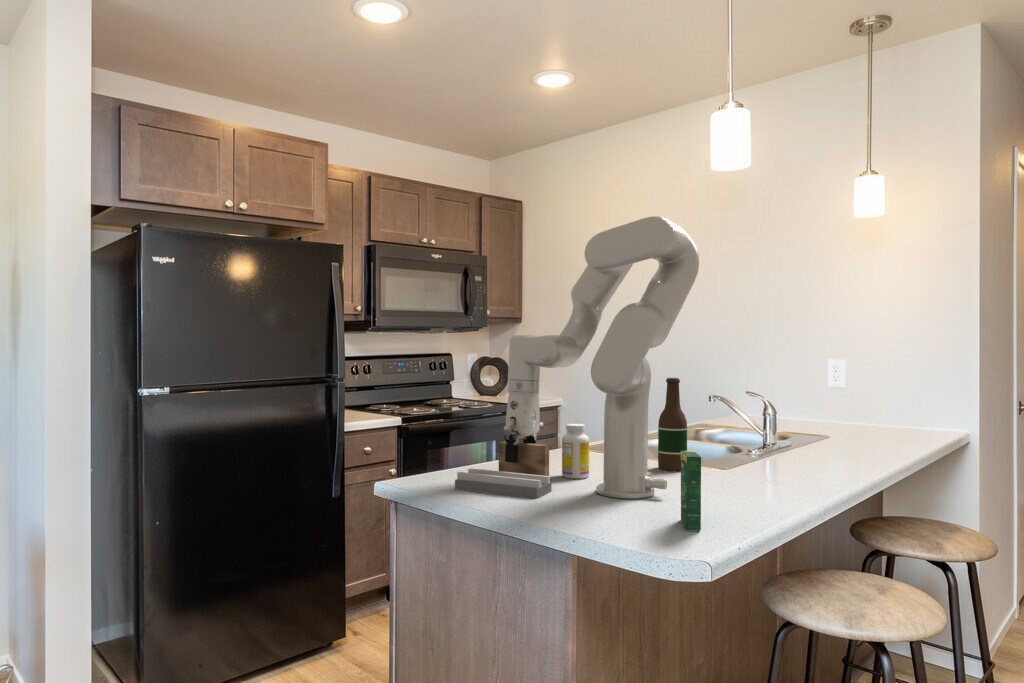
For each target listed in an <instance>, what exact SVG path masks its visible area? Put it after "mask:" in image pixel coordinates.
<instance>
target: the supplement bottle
mask: <svg viewBox="0 0 1024 683" xmlns="http://www.w3.org/2000/svg"><path fill="white" fill-rule="evenodd" d="M565 430H566V433H565V434H564V435H563V436H562V438H561V475H562V477H563V478H565V479H573V480H574V479H575V480H579V479H580V480H581V479H587V478H588V477H589V476H590V438H589V436H588V435H586V434H585V430H586V424H583V423H567V424H566V425H565Z"/></svg>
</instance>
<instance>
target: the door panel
mask: <svg viewBox="0 0 1024 683" xmlns="http://www.w3.org/2000/svg"><path fill="white" fill-rule="evenodd" d="M517 445H519V461H518V463H512V462H506V461H505V449H506V445H505V440H504V441H500V442H498V471H503V472H513V473H523V474H533V475H543V476H550V444H542V443H536V444H532V443H523V442H518V444H517Z"/></svg>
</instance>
